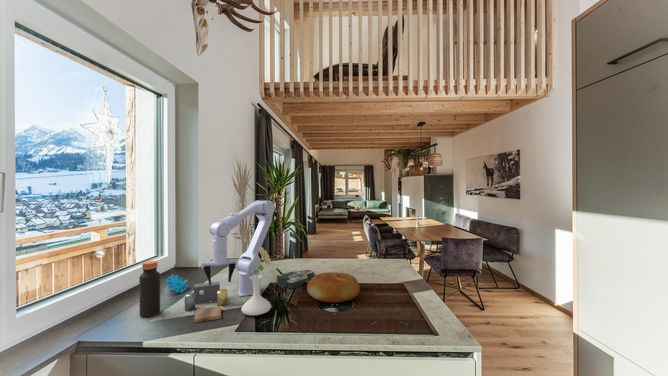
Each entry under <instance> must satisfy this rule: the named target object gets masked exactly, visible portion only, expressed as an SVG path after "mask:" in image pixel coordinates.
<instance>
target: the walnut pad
mask: <svg viewBox="0 0 668 376" xmlns="http://www.w3.org/2000/svg"><path fill="white" fill-rule="evenodd" d="M214 319H215V320H220V319H222V307H221V306H212V307H205V308H204V307H203V308H198V309H195V314H194V319H193V322H194V323H202V322H207V321H208V320H209V321H215V320H214Z"/></svg>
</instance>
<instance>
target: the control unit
mask: <svg viewBox="0 0 668 376" xmlns="http://www.w3.org/2000/svg"><path fill="white" fill-rule="evenodd" d="M220 283H221V282H220V281H211V285H209V282H204V283H195V284H194V286H193V293H196V303H198V304H203V302H205V303H211V302H210V301H213V302H217V290H219V289H221V287H220V285H221V284H220Z"/></svg>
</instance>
